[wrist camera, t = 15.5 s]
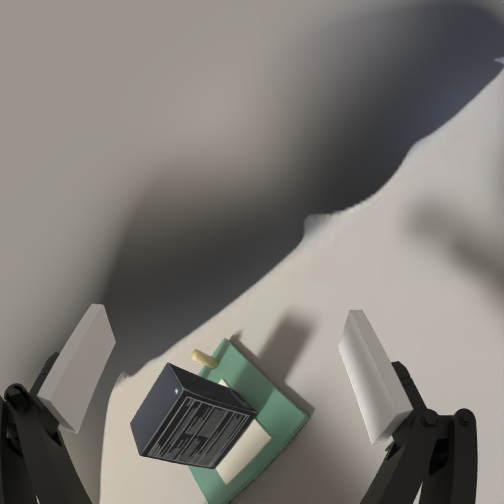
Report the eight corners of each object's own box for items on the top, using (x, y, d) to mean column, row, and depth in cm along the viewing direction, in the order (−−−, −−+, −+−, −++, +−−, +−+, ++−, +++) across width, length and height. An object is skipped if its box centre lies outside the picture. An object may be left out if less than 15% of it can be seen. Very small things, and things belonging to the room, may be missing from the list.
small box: (232, 386, 33) (166, 358, 28) (259, 412, 28) (185, 388, 23) (194, 441, 31) (127, 421, 26) (214, 471, 26) (138, 457, 20)
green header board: (229, 340, 42) (205, 327, 39) (310, 417, 25) (282, 410, 22) (171, 419, 39) (146, 410, 36) (219, 510, 22) (186, 509, 19)
